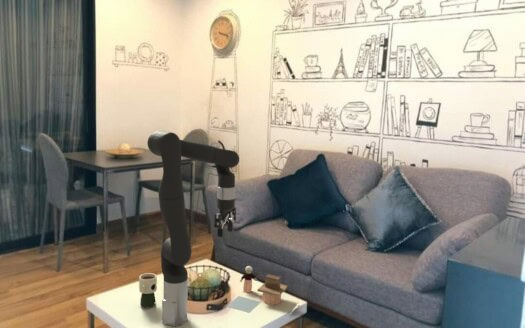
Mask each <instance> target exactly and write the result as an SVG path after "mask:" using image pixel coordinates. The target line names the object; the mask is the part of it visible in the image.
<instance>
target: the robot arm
mask: <svg viewBox="0 0 525 328" xmlns="http://www.w3.org/2000/svg"><path fill="white" fill-rule="evenodd" d="M146 143H147V144H146V145H147V147H148V150H149V151H150V152H151V153H152V154H153V155H155V156H158V157H161V163H162V178H161V181H160V184H159V187H158V191H157V193H158V194H157V195H158V204H159V210H160V213H161V216H162V217H163V220H164V222H165V224H166V228H167V231H168V234H169V237H168V238H167V239H165V241H164V242H163V243H162V245H161V250H160V261H161V262H160V263H161V272H162V275H163V299H162V300H161V304H162V305H161V323H162V324H164V325H168V326H171V327H177V326H180V325H183V324H185V323H186V322H187V321H188V291H189V290H188V288H189V287H188V285H189V283H188V282H189V281H188V280H189V276H188V275H189V273H188V269H186V267H185V265H187V264H188V263H189V262H190V259H191V257H192V247H191V246H192V245H191V240H190V237H189V231H188V225H187V215H186V205H185V193H184V185H183V175H182V174H183V173H182V158H186V159H191V160H194V161H196V162H197V161H198V162H201V163H206V164H210V165H211V164H214V165H215V168H216V173H217V177H218V178H217V191H216V192H217V195H216V207H217V209H218V210H219V212H218V213H215V214H214V225H213V227H214V228H216V229H217V237H218V238H222V237H224V226H225V225H226V224H227V232H230V233H231V232H233V231H234V223H235V221H237V207H236V189H235V188H236V186H235V185H236V176H235V174H234V172H232V171H231V170H230V168H231V169H232V168H235V167H237V165H238V164H239V163H240V156H239V154H238V152H236V151H235V150H229V149H226V148H225V149H223V148H219V147H216V146H213V145H209V144H206V143H200V142H193V141H188V140H184V139H183V140H182V139H180V137H179V136H178V134H176V133H174V132H172V131H165V130H157V131H154V132H152V133H151V134H150V135H149V137H148V138H147V142H146ZM226 222H227V223H226Z"/></svg>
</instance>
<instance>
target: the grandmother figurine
mask: <svg viewBox="0 0 525 328" xmlns="http://www.w3.org/2000/svg"><path fill="white" fill-rule="evenodd" d="M244 271H245V273H244V274H243V275H242V276H241V278H240V280H239V282H240V283H242V282H243V287H242V288H243V289H242V290H243V291H242V293H252V290H253V289H252V288H253V280H254V281H255V282H257V280H258V279H257V276H256V275H255V274H254V273H252V272H253V267H252V266H251V265H247V266H246V267H245V270H244Z"/></svg>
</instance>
